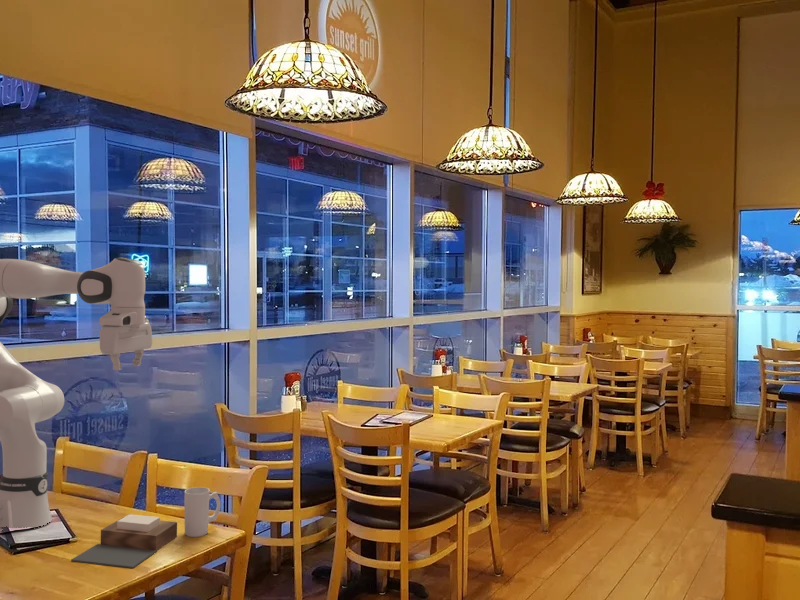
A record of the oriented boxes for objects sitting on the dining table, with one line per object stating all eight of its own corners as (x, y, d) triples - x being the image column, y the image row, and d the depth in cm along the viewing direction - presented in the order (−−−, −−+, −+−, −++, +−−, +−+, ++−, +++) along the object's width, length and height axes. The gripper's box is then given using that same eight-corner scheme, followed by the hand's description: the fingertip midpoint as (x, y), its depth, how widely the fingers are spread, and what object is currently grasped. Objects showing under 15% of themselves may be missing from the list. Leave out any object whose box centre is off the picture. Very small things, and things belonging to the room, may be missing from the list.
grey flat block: (117, 528, 196) (117, 521, 196) (129, 521, 202) (129, 514, 202) (148, 532, 194) (148, 524, 194) (159, 524, 200) (159, 517, 200)
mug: (186, 538, 201) (187, 495, 200) (181, 531, 207) (181, 488, 206) (223, 533, 206) (224, 490, 205) (216, 525, 212) (217, 484, 211)
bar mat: (71, 561, 184) (71, 559, 184) (97, 545, 194) (97, 543, 194) (133, 568, 180) (133, 566, 180) (156, 552, 191) (156, 550, 191)
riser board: (100, 544, 195) (100, 529, 195) (124, 530, 206) (124, 516, 205) (155, 551, 192) (156, 535, 191) (176, 536, 202) (177, 522, 202)
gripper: (138, 315, 212) (137, 363, 213) (95, 319, 192) (94, 371, 193) (158, 316, 211) (157, 364, 212) (117, 319, 191) (116, 373, 192)
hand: (127, 367), depth 202 cm, fingers open, 8 cm apart
